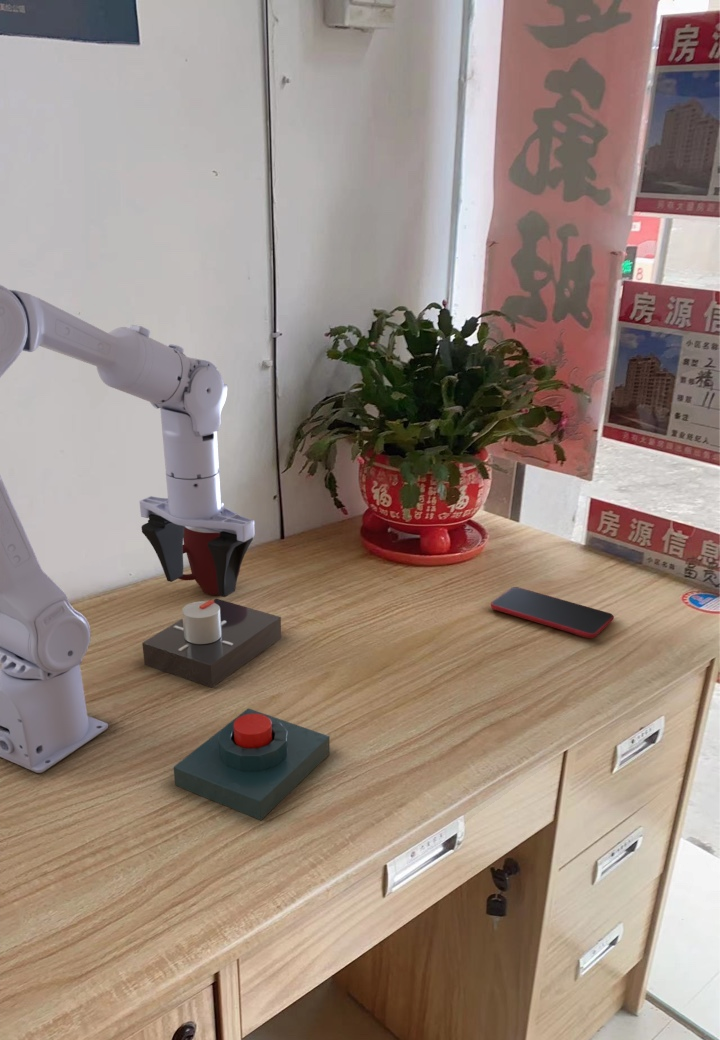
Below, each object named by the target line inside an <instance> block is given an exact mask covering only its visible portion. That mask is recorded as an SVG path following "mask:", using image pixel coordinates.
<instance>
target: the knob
mask: <svg viewBox="0 0 720 1040" xmlns="http://www.w3.org/2000/svg"><path fill="white" fill-rule="evenodd" d="M214 600H215V599H208V600H199V601H193V602H190V603H188V604H185V605H184V606H183V607H182V609H181V615H182V616H181V617H182V619H183V629H184V638H185V639H186V640H187V641H188V642H190V643H194V644H208V643H212V642H215V641H217V640H218V639H220V638H221V636H222V629H221V612H220V607H219V605H217V604H216V603H214Z"/></svg>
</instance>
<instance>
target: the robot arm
mask: <svg viewBox="0 0 720 1040" xmlns="http://www.w3.org/2000/svg"><path fill="white" fill-rule="evenodd" d="M150 334H151V331H150V330H149V329H148V328H146V327H143V326H141V325H135V324H130V326H129V327H127V326H120V327H117V328H114V329H112V330H110V331H109V332H106V330H105V331H104V330H102V329H101V328H99V327H97V326H95V325H94V324H91V323H89V322H87V321H85V320H83V319H81V318H78V317H77V316H75V315H73V314H71V313H69V312H67V311H65V310H63V309H61V308H59V307H57V306H55V305H53V304H51V303H50V302H48V301H45V300H43V299H41V298H40V297H38V296H35V295H32V294H30V293H28V292H23V291H20V290H14V289H8V288H7V287H5V286H4V285H2V284H0V378H1V377H2V376H3V375H4V374H5V373H6V372H7V371H8V369H9V368H10V367H11V366H12V365H13V364H14V362H15V361H16V360H17V359H18V358H19V356H20V355H21V354H22V352H28V353H33V352H35V351H36V350H37V349H38V348H39V347H42V348H44V349H47V350H50V351H53V352H55V353H58V354H61V355H64V356H66V357H69V358H72V359H75V360H78V361H80V362H84V363H86V364H89V365H92V366H95V367H96V370H97V373H98V375H99V378H100V380H101V381H102V382H103V383H104V385H106V386H108V387H110V388H112V389H115V390H118V391H121V392H123V393H126V394H128V395H131V396H134V397H136V398H139V399H142V400H144V401H147V402H149V403H150V404H151V405H152V407H153V408H155V409H159V411H160V421H161V433H162V443H163V444H162V445H163V453H164V454H163V455H164V467H165V468H164V469H165V479H166V480H165V481H166V491H167V498H165V497H157V496H152V495H150V496H147V497H145V498H143V499H141V500H139V510H140V511H139V512H140V517H141V518H146V519H148V520H147V523H144V524H142V525H141V534H143V535H144V536H145V538H146V539H147V540H148V542H149V543H150V545H151V546H152V548H153V550H154V551H155V554H156V555H157V558H158V561H159V563H160V565H161V568H162V570H163V573H164V575H165V579H166V581H167V582H169V583H173V582H175V581H176V580H179V579H178V578H180V577H182V576H183V574H184V554H183V545H184V540H183V536H184V529H185V526H189V527H196V528H200V529H205V530H209V531H213V532H217V533H220V537H217V538H215V539H213V540H211V541H209V542H208V543H207V544H208V548H209V550H210V552H211V554H212V557H213V560H214V564H215V568H216V574H217V585H218V591H219V595H218V596H220V597H223V598H226V597H227V596H229V595H231V594H233V593H234V592H236V588H237V587H236V586H237V581H238V578H237V577H239V575H238V573H239V574H240V572H239V569H240V570H241V565H242V563H243V560H244V557H245V555H246V553H247V551H248V549H249V547H250V546H251V543H252V541H254V537H255V534H256V533H255V520H254V519H252V518H248V517H246V516H243V515H240V514H239V513H236V512H234V511H232V510H230V509H228V508H227V507H224V501H223V500H222V496H221V495H222V494H221V493H222V492H221V477H220V462H219V461H220V458H219V442H218V441H219V440H218V431H219V430H220V426H221V425H222V421H221V420H222V419H221V416H222V415H221V413H222V411H223V407H224V405H225V403H226V400H227V395H228V384H225V382H224V378H223V376H222V374H221V372H220V371H219V370H218V369H217V368H218V367H216V365H215V364H213V363H212V362H211V361H209V360H205V359H200V358H194V357H189V356H187V355H186V354H185V353H184V351H185V349H184V348H183V347H182V346H179V345H177V344H172V343H171V344H168V345H167V344H164V343H162V342H160V341H158V340H156V339H153V338H151V337H150ZM91 632H92V631H91V627H90V624H89V621H88V619H87V618H86V616H84V615H83V614H82V613H81V612H80V611H78V610H76V609H75V608H74V607H73V606H72V604H71V603H70V600H69V598H68V596H67V594H66V593H65V591H63V590H62V589H61V588H60V587H59V585H57V583H55V582H54V581H53V580H52V579H51V578H50V576H48V574H46V572H44V570H43V569H42V567H41V564H40V563H39V559H38V557H37V556H36V553H35V551H34V548H33V546H32V544H31V541H30V540H29V537H28V535H27V532H26V531H25V528H24V526H23V524H22V522H21V519H20V517H19V515H18V513H17V510H16V508H15V506H14V504H13V501H12V499H11V496H10V495H9V493H8V490H7V487H6V485H5V483H4V481H3V479H2V476H1V475H0V758H2V759H4V760H7V761H9V762H11V763H14V764H15V765H18V766H20V767H22V768H25V769H27V770H29V771H32V772H34V773H37V774H41V773H44V772H46V771H47V770H48V769H50V768H51V767H53V766H54V765H56V764H57V763H59V762H60V761H62V760H63V759H65V758H66V757H68V756H70V754H72V753H74V752H75V751H76V750H78V749H80V748H81V747H82V746H84V745H85V744H87V743H88V742H90V741H91V740H93V739H94V738H96V737H97V736H99V735H100V734H102V733H103V732H105V731H106V730H107V729H108V728H109V724H108V723H107V722H106V721H102V720H99V719H97V718H95V717H93V716H89V715H88V710H87V709H88V708H87V702H86V697H85V689H84V682H83V677H82V671H81V664H82V663H83V658H84V657H85V655H86V654H87V652H88V650H89V646H90V644H91V636H92V633H91Z"/></svg>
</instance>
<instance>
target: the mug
mask: <svg viewBox="0 0 720 1040" xmlns="http://www.w3.org/2000/svg"><path fill="white" fill-rule="evenodd" d="M217 537H220V533H217V532H213V531H209V530H205V529H200V528H196V527H189V526H185V529H184V536H183V555H184V554H186V557H187V561H188V564H189V569H190V571H191V573H188V574H187V573H186V574H184V573H183V576H182V577H180V578H178V579H177V580H181V581H195V582H196V584H197V585H198V586H199V588H200V590H202V592H203V593H204V594H206V595H209V596H220V595H219V591H218V585H217V574H216V568H215V564H214V560H213V557H212V554H211V552H210V550H209V548H208V544H207V543H208V542H209V541H211V540H213V539H215V538H217ZM240 572H241V568H240V569H239V573H238V577H239V575H240ZM238 577H237V579H238Z"/></svg>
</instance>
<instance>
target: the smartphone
mask: <svg viewBox="0 0 720 1040" xmlns="http://www.w3.org/2000/svg"><path fill="white" fill-rule="evenodd" d="M490 607H491V608H492V609H493V610H494V611H498V612H500V613H504V614H508V615H511V616H514V617H517V618H521V619H524V620H527V621H531V622H533V623H537V624H540V625H544V626H547V627H551V628H554V629H558V630H561V631H564V632H566V633H570V634H573V635H575V636H579V637H582V638H586V639H594V638H596V637H597V636H598V635H599V634H600V633H601V632H602V631H603V630H604V629H606V627H607V626H608V625H610V623H612V622H613V621H614V620H615V616H614V614H612V613H610V612H607V611H604V610H600V609H597V608H593V607H589V606H586V605H582V604H579V603H575V602H572V601H568V600H564V599H562V598H558V597H555V596H550V595H548V594H544V593H541V592H536V591H533V590H529V589H525V588H522V587H519V586H513V587H511V588H509V589H508V590H506V591H505V592H504V593H502V594H501V595H500V596H498V597H497V598H495V599H493V600H492V601H491V602H490Z"/></svg>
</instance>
